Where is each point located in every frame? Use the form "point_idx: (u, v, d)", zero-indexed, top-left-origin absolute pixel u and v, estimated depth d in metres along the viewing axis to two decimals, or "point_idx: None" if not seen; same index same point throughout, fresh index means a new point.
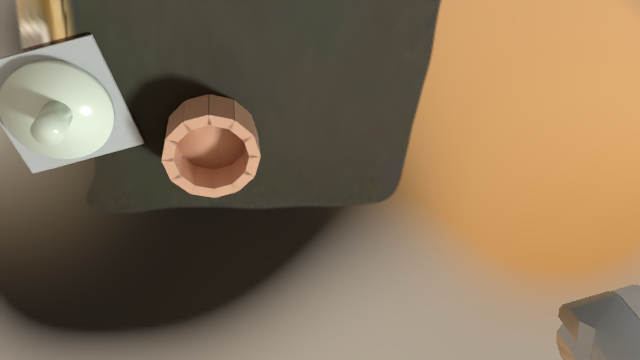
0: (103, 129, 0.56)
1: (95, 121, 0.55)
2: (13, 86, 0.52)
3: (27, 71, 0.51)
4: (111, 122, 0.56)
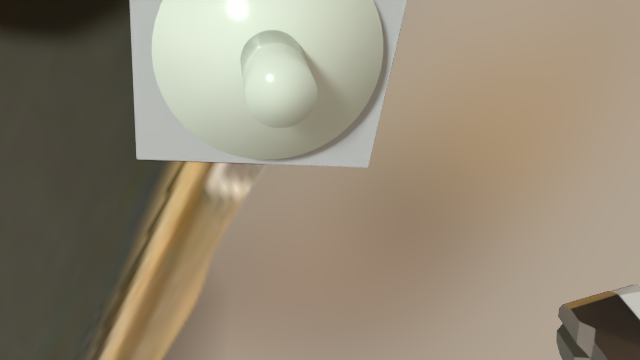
0: None
1: (204, 15, 0.23)
2: (311, 136, 0.28)
3: (271, 152, 0.28)
4: None
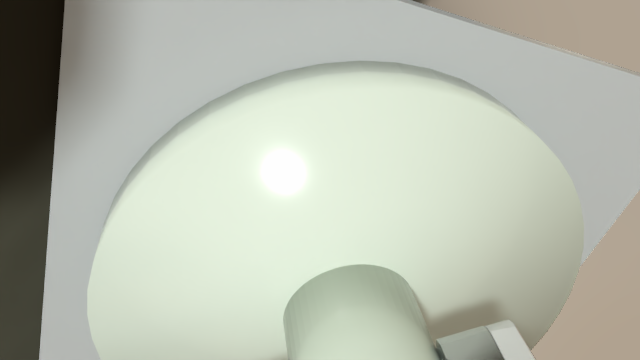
0: (215, 182, 0.09)
1: (225, 231, 0.10)
2: None
3: None
4: (148, 193, 0.09)
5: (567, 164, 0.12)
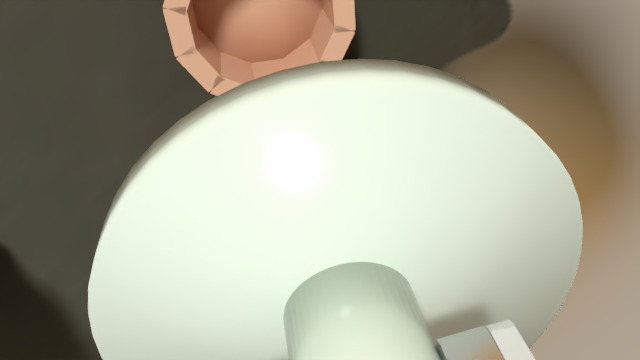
0: (216, 179, 0.09)
1: (226, 228, 0.10)
2: None
3: None
4: (148, 190, 0.09)
5: None
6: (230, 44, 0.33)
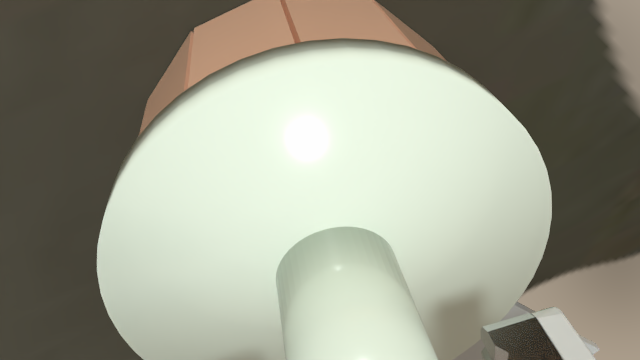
0: (214, 146, 0.10)
1: (222, 193, 0.11)
2: None
3: None
4: (153, 155, 0.10)
5: None
6: None
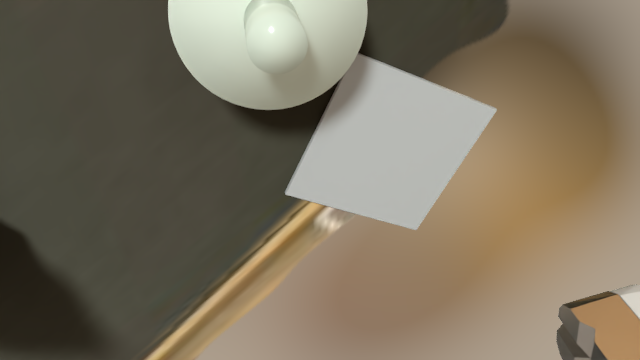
0: None
1: None
2: (309, 87, 0.32)
3: (275, 103, 0.32)
4: None
5: (457, 124, 0.42)
6: None
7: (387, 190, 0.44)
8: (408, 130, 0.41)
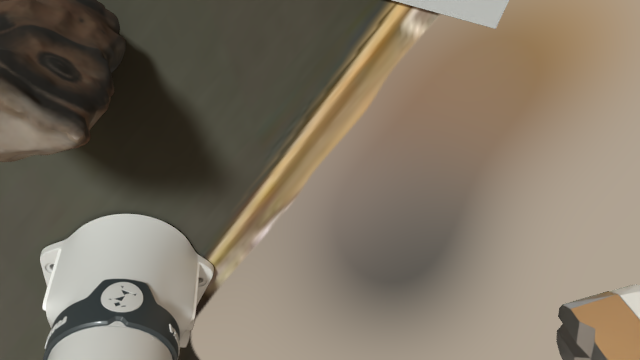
0: None
1: None
2: None
3: None
4: None
5: None
6: None
7: None
8: None
